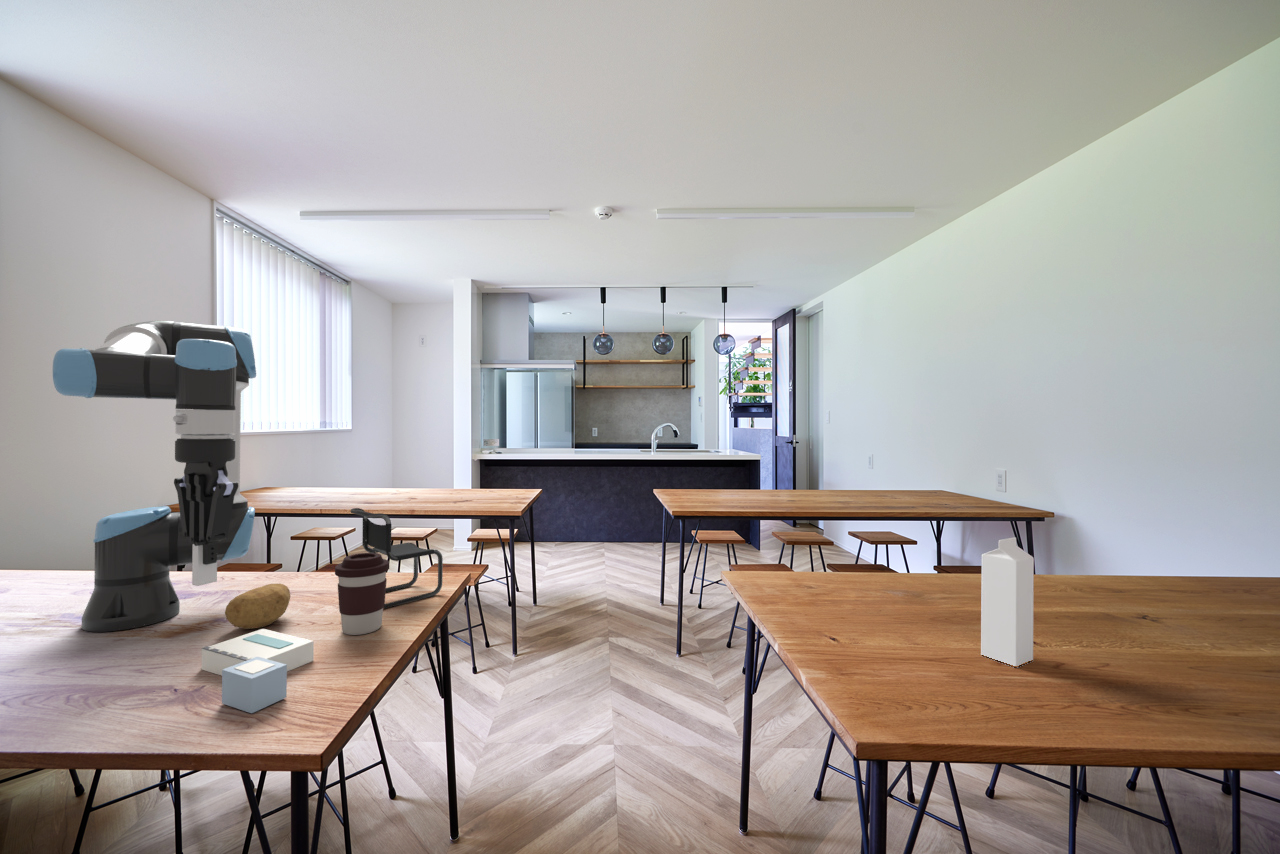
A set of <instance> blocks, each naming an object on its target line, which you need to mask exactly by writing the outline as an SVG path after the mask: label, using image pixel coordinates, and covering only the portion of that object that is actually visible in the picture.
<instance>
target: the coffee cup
mask: <svg viewBox="0 0 1280 854" xmlns="http://www.w3.org/2000/svg"><path fill="white" fill-rule="evenodd" d="M389 570H390V561H389V560H388V559H385V558H383V556H382V553H379V552H378V553H369V552H362V553H361V552H360V553H354V554H350V555H347V556H345V557H343V560H342V561H341V563H338V564H336V565H335V567H334V575H335V576H337V578H338V583H337V594H338V595H337V596H338V611H339V614H340V620H341V621H340V622H341V632H342V634H344V635H348V636H360V635H367V634H370V633H373V632H376V631H377V630H379V629H380V628H381V627H382V625H383V614H384V609H383V607H384V605H385V604H386V593H387V592H386V588H387V572H388V571H389Z"/></svg>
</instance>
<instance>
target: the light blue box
mask: <svg viewBox="0 0 1280 854" xmlns="http://www.w3.org/2000/svg"><path fill="white" fill-rule="evenodd" d="M287 680H288V671H287V665H286V664H283V663H279V662H276V661H272V660H268V659H265V658H261V657H255V658H252V659H250V660H247V661H244V662H241V663H239V664H236V665H233V666H231V667H228V668H225V669H223V670H222V676H221V704H223V705H224V706H225V705H226V706H228V707H231V708H235V709H238V710H241V711H243V712H247V713H249V714H254V713H256V712H258V711H260V710H262V709H264V708H267V707H269V706H271V705H273V704H275V703H277V702H280V701H282V700H284V699H286V698H287V690H288V689H287V688H288V687H287V685H288V684H287V683H288V681H287Z"/></svg>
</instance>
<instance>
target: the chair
mask: <svg viewBox="0 0 1280 854" xmlns="http://www.w3.org/2000/svg"><path fill="white" fill-rule="evenodd" d="M350 514H354V515H356V516H362V539H361V541H362V543H361V544H362V547H363V550H365V551H366V553H378V554H381V555H385V556H386V557H387V558H388V559H389V560H390V561H394V562H399V561H404V560H409V559H413V577H412V579H411V580H410V581H409V582H406V583H403V584H398V585H394V586H388V587H386V593H388V592H387V591H390V592H393V591H392V590H394V591H397V590H396V589H398V590H402V589H401V588H403V589H406V587H407V588H409V587H412V586H413V585H414V584H416V581H418V578H419V558H420V557H424V556H430V555H436V557H437V586H436V588H435V590H433V591H430V592H426V593H423V594H419V595H415V596H411V597H410V596H409V597H408V598H403V599H398V600H395V601H391V602H387V603H386V602H385V605H384V607H383V608H386V609H389V608H388V607H390V608H392V606H394V607H396V605H397V606H400V605H404V604H408V603H412V602H416V601H420V600H424V599H427V598H428V599H429V598H432V597H434V596H436V595H437V594H439V593H440V592H441V589H442V587H443V575H444V574H443V569H444V567H443V563H444V562H443V561H444V559H443V555H442V553H441V552H440V550H438V549H433V548H432V549H431V548H430V549H427V548H422V547H418V546H417V545H416V544H415V543H413V542H404V543H398V544H392V522H391V521H392V520H391V519H390V516H388V515H387V514H385V513H373V512H369V511H365V510H364V509H362V508H360V507H359V508H358V507H356V508H355V507H354V508H351V509H350ZM369 518H370V519H383V520H384V522H385V524H377V523H374V522H372V521H371V520H370V519H369ZM371 547H372V548H371Z"/></svg>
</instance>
